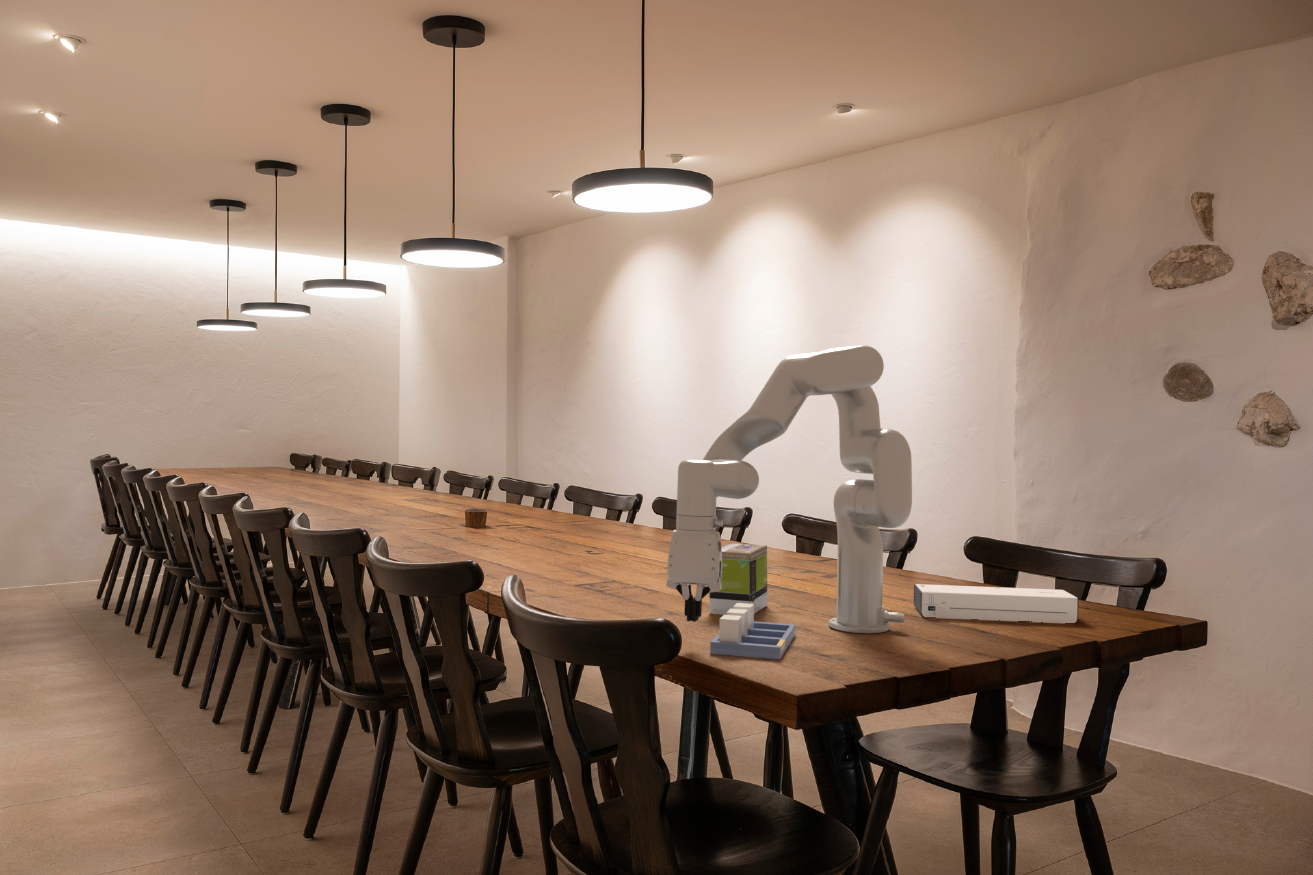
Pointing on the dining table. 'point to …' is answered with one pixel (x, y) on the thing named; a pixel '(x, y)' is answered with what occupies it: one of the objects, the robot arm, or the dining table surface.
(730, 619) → the tab
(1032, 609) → the laminator
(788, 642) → the blue compartment tray
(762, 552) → the tea box
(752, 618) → the tab
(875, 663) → the dining table surface
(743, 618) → the tab
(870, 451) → the robot arm
